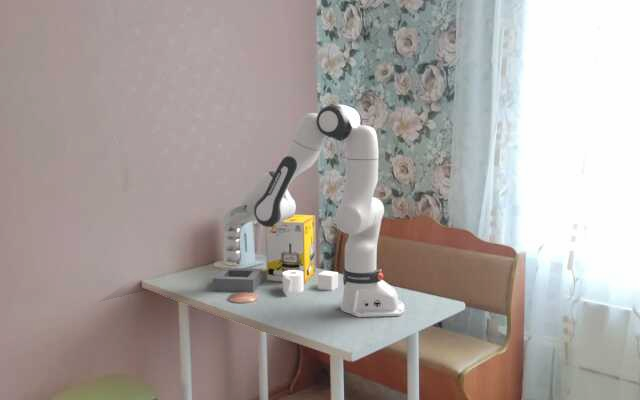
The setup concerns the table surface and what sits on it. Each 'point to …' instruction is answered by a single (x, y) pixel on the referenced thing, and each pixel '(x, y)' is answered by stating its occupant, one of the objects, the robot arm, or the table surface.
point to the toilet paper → (292, 281)
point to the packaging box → (291, 247)
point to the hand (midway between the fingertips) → (232, 228)
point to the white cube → (328, 280)
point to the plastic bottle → (233, 244)
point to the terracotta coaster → (243, 297)
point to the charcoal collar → (237, 280)
